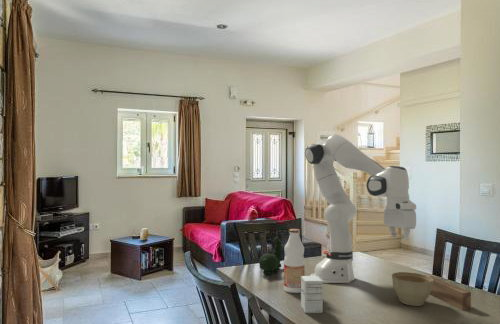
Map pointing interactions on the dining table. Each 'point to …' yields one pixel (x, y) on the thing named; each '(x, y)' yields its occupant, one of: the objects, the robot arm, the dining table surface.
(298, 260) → the fruit juice
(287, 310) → the dining table surface
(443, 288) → the board
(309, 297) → the supplement box
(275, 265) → the green shrub
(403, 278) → the planter bowl
